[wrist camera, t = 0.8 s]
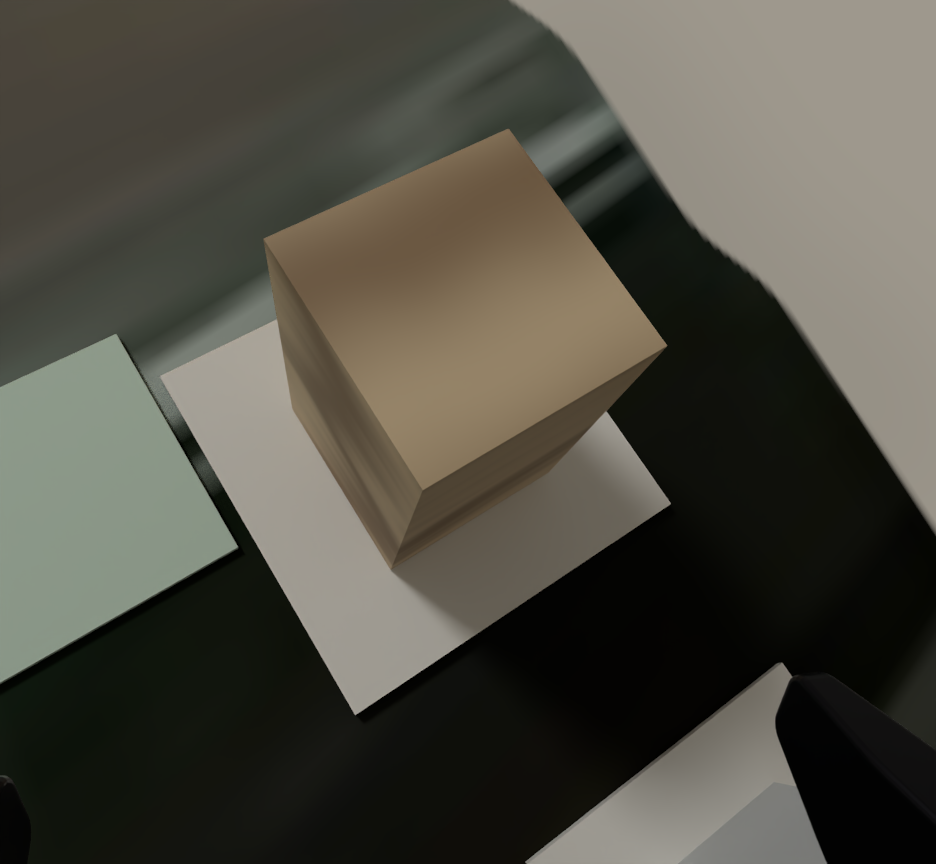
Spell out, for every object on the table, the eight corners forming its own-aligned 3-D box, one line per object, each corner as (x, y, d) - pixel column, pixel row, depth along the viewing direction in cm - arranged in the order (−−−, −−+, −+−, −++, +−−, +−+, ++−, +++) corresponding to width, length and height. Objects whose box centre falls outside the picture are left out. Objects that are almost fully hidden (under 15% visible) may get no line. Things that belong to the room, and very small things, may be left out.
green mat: (238, 548, 24) (238, 547, 24) (-30, 700, 22) (-33, 701, 21) (117, 336, 25) (115, 333, 25) (-145, 458, 23) (-149, 456, 23)
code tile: (667, 505, 26) (671, 503, 26) (354, 715, 23) (355, 715, 23) (473, 228, 29) (474, 222, 28) (161, 379, 25) (159, 375, 25)
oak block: (548, 472, 26) (667, 346, 16) (390, 569, 24) (422, 490, 15) (449, 325, 27) (508, 128, 18) (292, 408, 25) (263, 239, 16)
